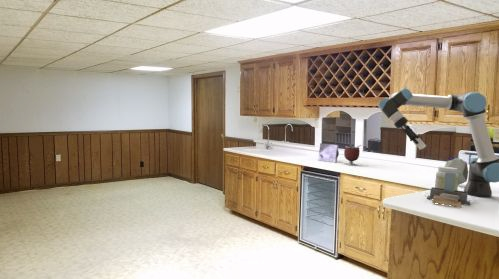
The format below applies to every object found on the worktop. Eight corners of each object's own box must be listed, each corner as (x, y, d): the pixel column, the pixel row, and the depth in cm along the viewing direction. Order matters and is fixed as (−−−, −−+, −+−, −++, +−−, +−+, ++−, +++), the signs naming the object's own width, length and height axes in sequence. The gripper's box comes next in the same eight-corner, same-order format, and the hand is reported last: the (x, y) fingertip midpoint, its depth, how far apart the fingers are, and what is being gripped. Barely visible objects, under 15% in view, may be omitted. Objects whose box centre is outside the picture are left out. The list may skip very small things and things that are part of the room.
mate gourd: (342, 165, 358) (344, 143, 357) (343, 163, 371) (345, 143, 370) (359, 166, 353) (361, 145, 352) (360, 165, 366) (362, 144, 365)
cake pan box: (338, 162, 378) (339, 144, 376) (336, 163, 373) (337, 145, 372) (319, 160, 388) (321, 143, 387) (318, 160, 383) (319, 143, 382)
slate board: (443, 199, 216) (445, 171, 215) (453, 201, 213) (455, 172, 212) (442, 200, 213) (445, 172, 212) (452, 202, 211) (455, 173, 210)
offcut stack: (433, 201, 210) (434, 191, 209) (460, 205, 203) (461, 195, 203) (432, 203, 203) (432, 193, 203) (460, 207, 197) (461, 197, 196)
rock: (440, 181, 287) (442, 155, 286) (448, 182, 287) (450, 155, 286) (460, 188, 261) (463, 159, 259) (469, 189, 261) (472, 159, 260)
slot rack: (428, 196, 222) (429, 186, 222) (469, 203, 211) (470, 192, 211) (426, 198, 216) (427, 188, 215) (469, 205, 205) (470, 194, 205)
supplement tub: (449, 194, 237) (452, 166, 236) (461, 198, 224) (464, 169, 223) (430, 192, 236) (432, 165, 235) (440, 197, 224) (443, 168, 223)
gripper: (397, 124, 241) (420, 150, 235) (389, 123, 220) (415, 152, 213) (407, 116, 238) (430, 143, 232) (400, 115, 217) (426, 144, 210)
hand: (423, 147), depth 222 cm, fingers open, 13 cm apart
